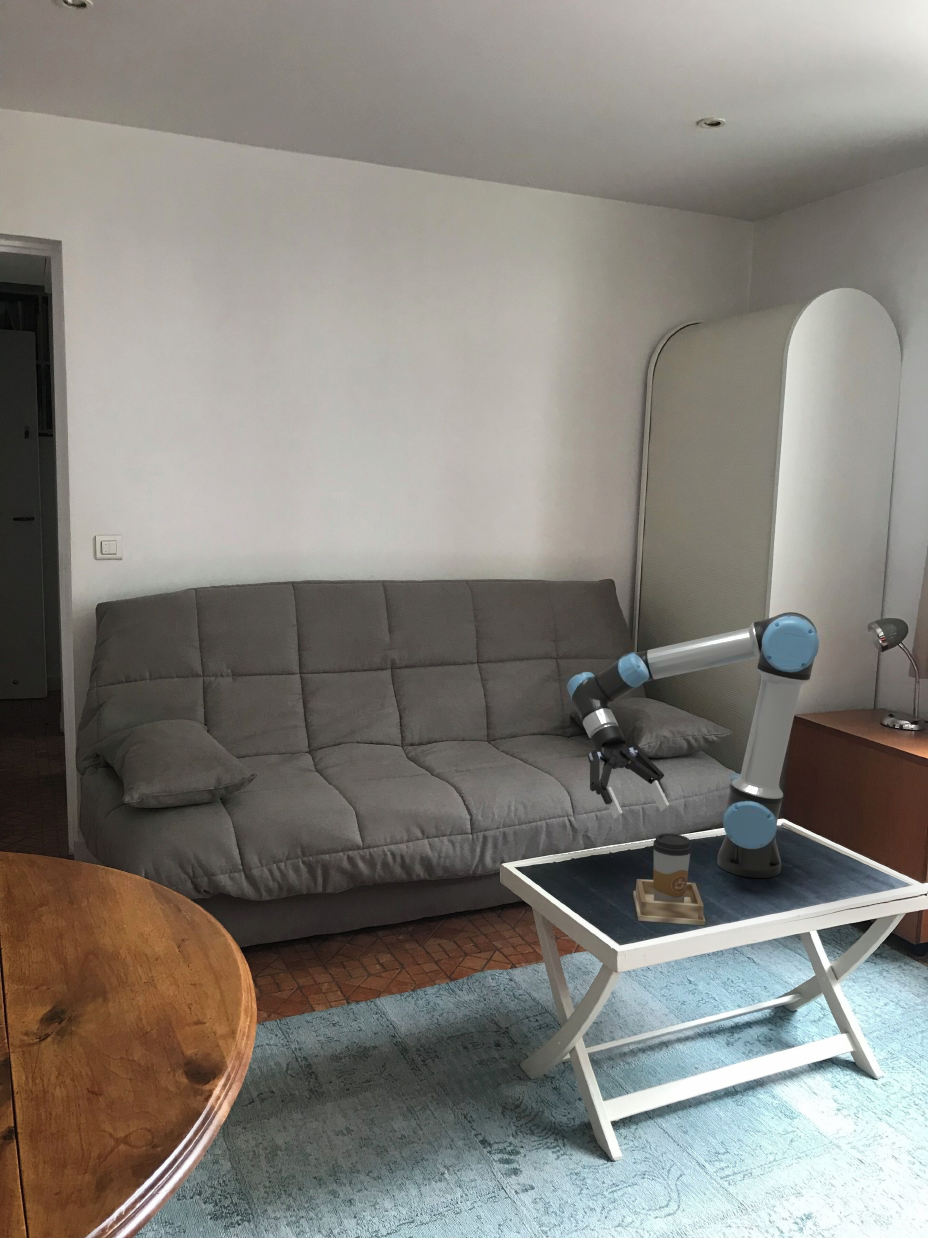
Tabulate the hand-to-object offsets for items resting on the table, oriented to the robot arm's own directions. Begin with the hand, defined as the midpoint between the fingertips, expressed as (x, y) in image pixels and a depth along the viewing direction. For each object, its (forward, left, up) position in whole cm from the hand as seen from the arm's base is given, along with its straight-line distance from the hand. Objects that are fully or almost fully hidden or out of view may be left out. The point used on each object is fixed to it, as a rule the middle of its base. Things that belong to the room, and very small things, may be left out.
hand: (642, 812), depth 224 cm
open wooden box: (-6, +8, -19) cm, 22 cm away
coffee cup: (-6, +8, -18) cm, 21 cm away
